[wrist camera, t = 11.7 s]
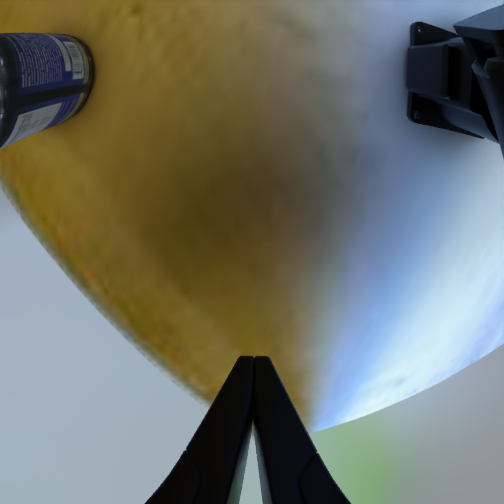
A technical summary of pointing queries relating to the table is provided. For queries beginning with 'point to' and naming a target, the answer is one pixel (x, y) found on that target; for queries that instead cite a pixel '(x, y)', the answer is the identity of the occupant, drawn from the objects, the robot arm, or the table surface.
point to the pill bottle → (40, 82)
